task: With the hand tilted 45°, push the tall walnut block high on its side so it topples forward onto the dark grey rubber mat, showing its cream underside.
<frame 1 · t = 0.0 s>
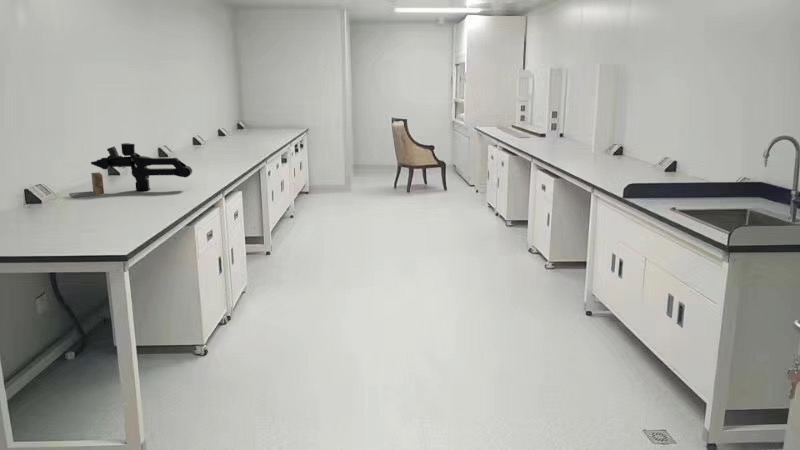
hand: (93, 161, 349), 16 cm above the table, tool horizontal, fingers open, 9 cm apart
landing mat: (82, 194, 339), on the table
walnut block: (98, 193, 344), on the table
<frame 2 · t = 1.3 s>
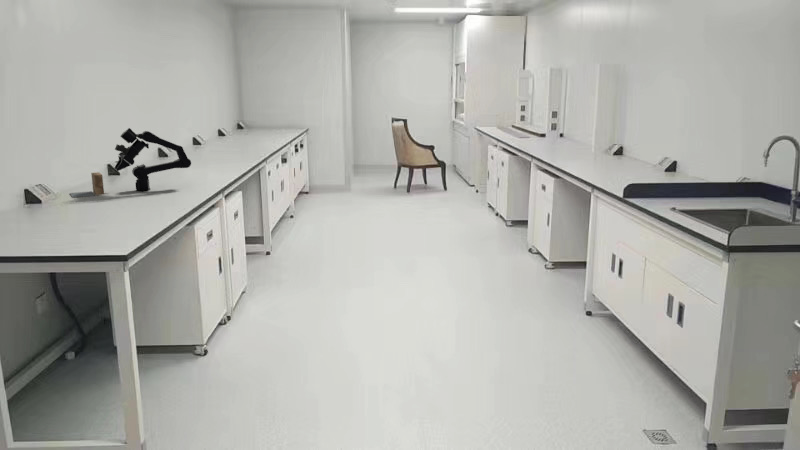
hand: (115, 169, 346), 13 cm above the table, tool tilted 45°, fingers open, 7 cm apart
nothing on the table moved.
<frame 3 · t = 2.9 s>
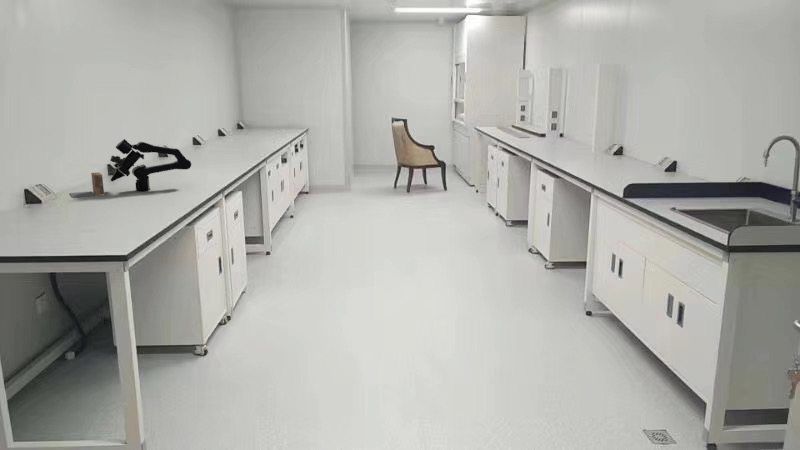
hand: (111, 180, 346), 7 cm above the table, tool tilted 45°, fingers closed
nothing on the table moved.
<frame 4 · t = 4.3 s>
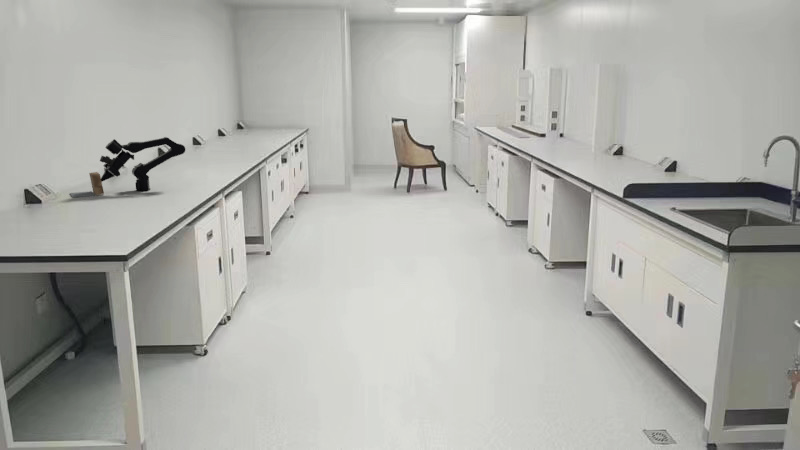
hand: (100, 181, 343), 7 cm above the table, tool tilted 45°, fingers closed, pressing on walnut block
walnut block: (98, 193, 344), on the table, tilted 5°, touching gripper
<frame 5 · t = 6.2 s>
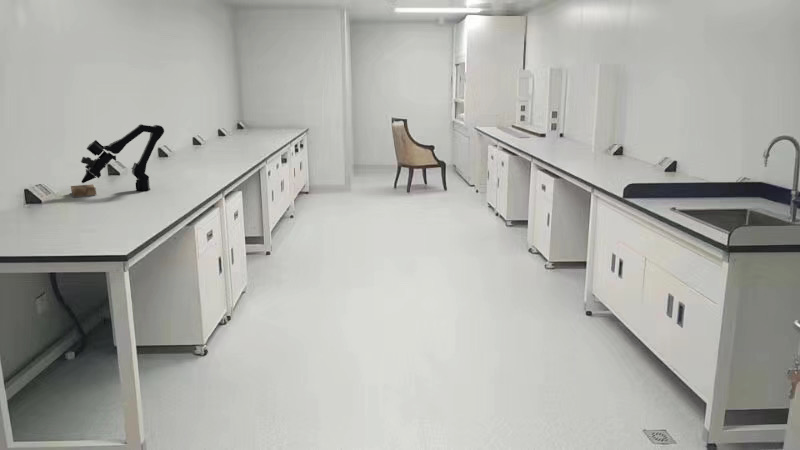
hand: (82, 182, 338), 7 cm above the table, tool tilted 45°, fingers closed
walnut block: (94, 189, 342), point 2 cm above the table, tilted 90°, touching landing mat
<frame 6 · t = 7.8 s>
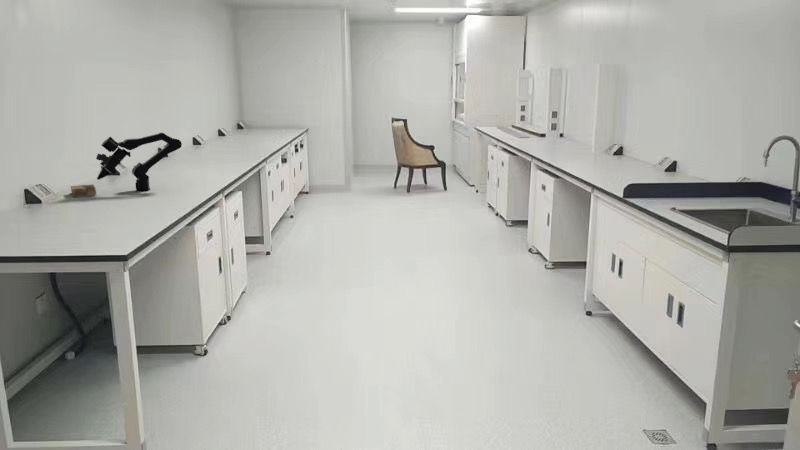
hand: (97, 179, 342), 8 cm above the table, tool tilted 45°, fingers closed
nothing on the table moved.
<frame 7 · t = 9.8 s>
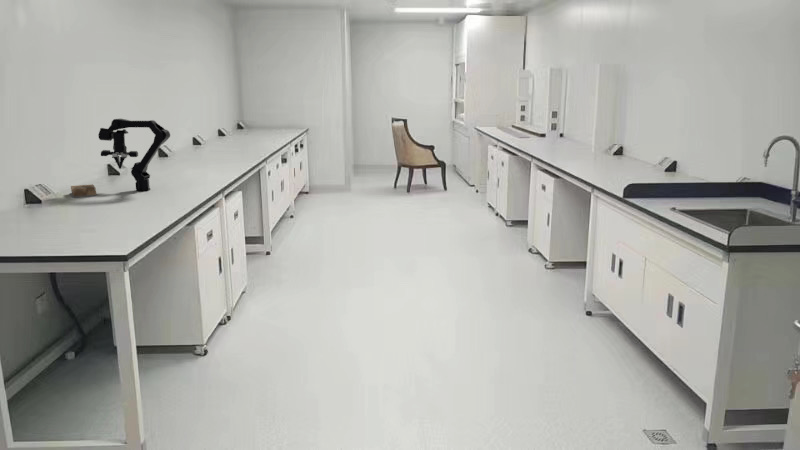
hand: (120, 168, 353), 12 cm above the table, tool pointing down, fingers closed
nothing on the table moved.
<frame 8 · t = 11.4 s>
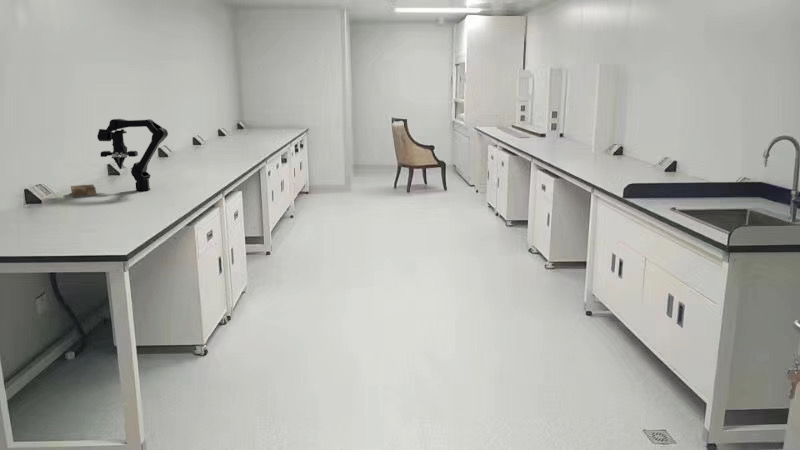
hand: (120, 168, 354), 12 cm above the table, tool pointing down, fingers closed
nothing on the table moved.
at the end: walnut block tilted 90°; walnut block inside the target area (3.9 cm from its centre), point 2.4 cm above the table; walnut block touching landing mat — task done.
